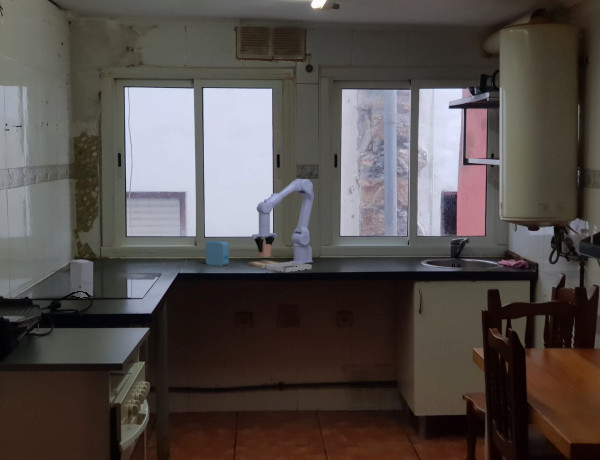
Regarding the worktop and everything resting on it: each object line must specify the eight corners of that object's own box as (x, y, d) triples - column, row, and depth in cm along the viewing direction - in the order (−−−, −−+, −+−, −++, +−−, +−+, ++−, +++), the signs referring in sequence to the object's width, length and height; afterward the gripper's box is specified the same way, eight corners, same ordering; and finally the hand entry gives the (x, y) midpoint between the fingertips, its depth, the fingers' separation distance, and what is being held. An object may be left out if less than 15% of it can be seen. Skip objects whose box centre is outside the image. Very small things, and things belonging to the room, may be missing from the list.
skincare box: (69, 296, 313) (68, 260, 311) (82, 294, 317) (81, 258, 316) (81, 299, 307) (80, 262, 306) (94, 297, 312) (93, 260, 310)
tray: (292, 265, 398) (292, 261, 398) (311, 268, 386) (311, 264, 386) (265, 268, 386) (265, 264, 386) (284, 272, 375) (284, 268, 374)
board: (266, 263, 406) (266, 260, 406) (280, 265, 397) (280, 262, 397) (248, 265, 398) (248, 262, 398) (262, 267, 389) (262, 264, 389)
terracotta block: (265, 255, 400) (265, 243, 399) (270, 256, 397) (271, 244, 396) (258, 256, 397) (258, 244, 396) (264, 257, 394) (264, 245, 393)
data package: (229, 265, 399) (228, 242, 398) (223, 266, 395) (223, 243, 394) (211, 263, 406) (211, 240, 404) (205, 264, 402) (205, 241, 401)
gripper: (270, 224, 403) (270, 249, 405) (248, 225, 394) (248, 252, 395) (279, 225, 398) (279, 251, 399) (256, 226, 389) (256, 253, 390)
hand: (264, 251), depth 397 cm, fingers closed on terracotta block, 4 cm apart
